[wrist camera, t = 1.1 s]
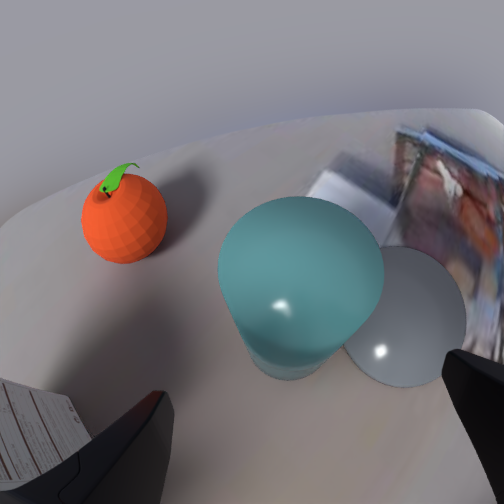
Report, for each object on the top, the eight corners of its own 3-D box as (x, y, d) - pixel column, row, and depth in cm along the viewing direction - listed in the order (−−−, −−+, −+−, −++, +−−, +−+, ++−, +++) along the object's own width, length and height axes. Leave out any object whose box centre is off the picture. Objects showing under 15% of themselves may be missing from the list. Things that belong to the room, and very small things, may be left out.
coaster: (483, 319, 18) (485, 317, 17) (399, 419, 15) (402, 419, 15) (401, 227, 23) (402, 224, 22) (304, 302, 20) (305, 300, 20)
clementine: (124, 201, 27) (94, 148, 20) (189, 201, 26) (167, 140, 20) (96, 274, 23) (49, 228, 17) (166, 283, 22) (128, 231, 16)
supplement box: (63, 502, 12) (-57, 514, 1) (23, 427, 15) (-93, 399, 5) (118, 475, 14) (-20, 497, 3) (70, 392, 17) (-63, 347, 7)
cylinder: (346, 346, 18) (414, 276, 9) (278, 397, 17) (284, 384, 8) (296, 286, 21) (311, 176, 11) (231, 330, 20) (188, 246, 10)
